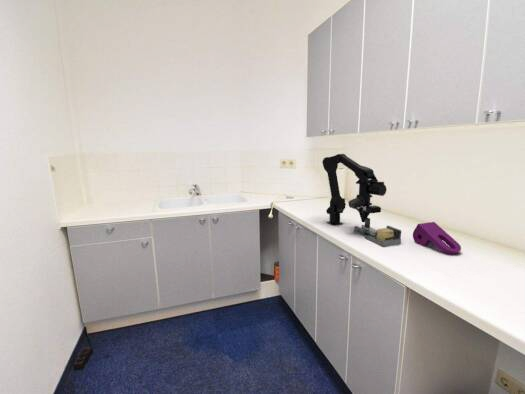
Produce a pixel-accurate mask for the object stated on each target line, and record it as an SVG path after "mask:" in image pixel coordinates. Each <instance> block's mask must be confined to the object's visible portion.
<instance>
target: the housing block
mask: <svg viewBox="0 0 525 394" xmlns="http://www.w3.org/2000/svg"><path fill="white" fill-rule="evenodd" d="M376 230H377V239H378V240H380V241H384V240H391V239H393V238H394V231H393V230H390V229H388V228H387V227H383V228H377V229H376Z"/></svg>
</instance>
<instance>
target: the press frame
mask: <svg viewBox="0 0 525 394" xmlns="http://www.w3.org/2000/svg"><path fill="white" fill-rule="evenodd" d="M362 226H365V224H361V227H360V226H358V225H354V228H353V229H354V230H352V231H353V232H355V233H356V234H360V235H361V236H363V237H364V239H366V240H368V241H370V242H372V243H374V244H376V245H378V246H380V247H382V248H384V247H385V248H386V247H392V246H396V245H398V246H399V245H401V242H402V237H401V236H402V230H401V229H398V228H396V227H394V226H391V225H386V228H388V229H390V230H393V231H394V238H393V239H391V240H384V241H380V240H378V239H377V236H373V235H371V234H369V233H366V230H365V229H363V228H362Z"/></svg>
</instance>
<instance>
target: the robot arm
mask: <svg viewBox="0 0 525 394" xmlns="http://www.w3.org/2000/svg"><path fill="white" fill-rule="evenodd" d="M321 163H322V166H323V169H324V171H325V172H326V173H327V179H328V184H329V190H330V196H331V197H330V199H329V200H330V201H329V206H328V207H327V209H326V214H327V215H329V221H327V223H328V224H329V225H332V226H336V225H337V226H338V225H343V223H342V222H341V214H343V212H344V211H345V209H346V199H345V197H342V196H341V192H340V185H339V180H338V175H337V174H338V173H337V169H338V166H339V164H341V165H343V166H345V167H346V168H347V169H349V170H351V171H352V172H353V173H354V175H355V177H356V178H357V179H358V180H357V181H355V184H356V185H358V194H356V197H355V198H352V199H351V200H348V201H347V203H348V206H349V208H351V209H352V210H356V211H357V212H358V213H359V214H358V215H359V216H360V221H361V222H362V223H365V218H369V215H370V214H378V213H381V212H382V208H381V207H380V206H379V205H377V204H375V205H373V202H371V198H373V195H374V196H379V197H384V196H385V195H386V193H387V186H386V185H385V181H379V180H378V179H377V176H376V175H375V173H374V170H373V169H372V168H370V167H367V166H364V165H361V164H359V163H358V162H357V161H355V160H353V159H351V158H350V157H348V156H347V155H346V154H345V153H338V154H335V155H332V156H326V157H323V159H322V162H321Z"/></svg>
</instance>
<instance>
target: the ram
mask: <svg viewBox="0 0 525 394" xmlns="http://www.w3.org/2000/svg"><path fill="white" fill-rule="evenodd" d="M364 225H365V226H362V225H361V228H363V229H365V230H366V233H369V234H371V235H373V236H377V230H378V229H376V228H374V227H371V217H367V218H365V222H364Z"/></svg>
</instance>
